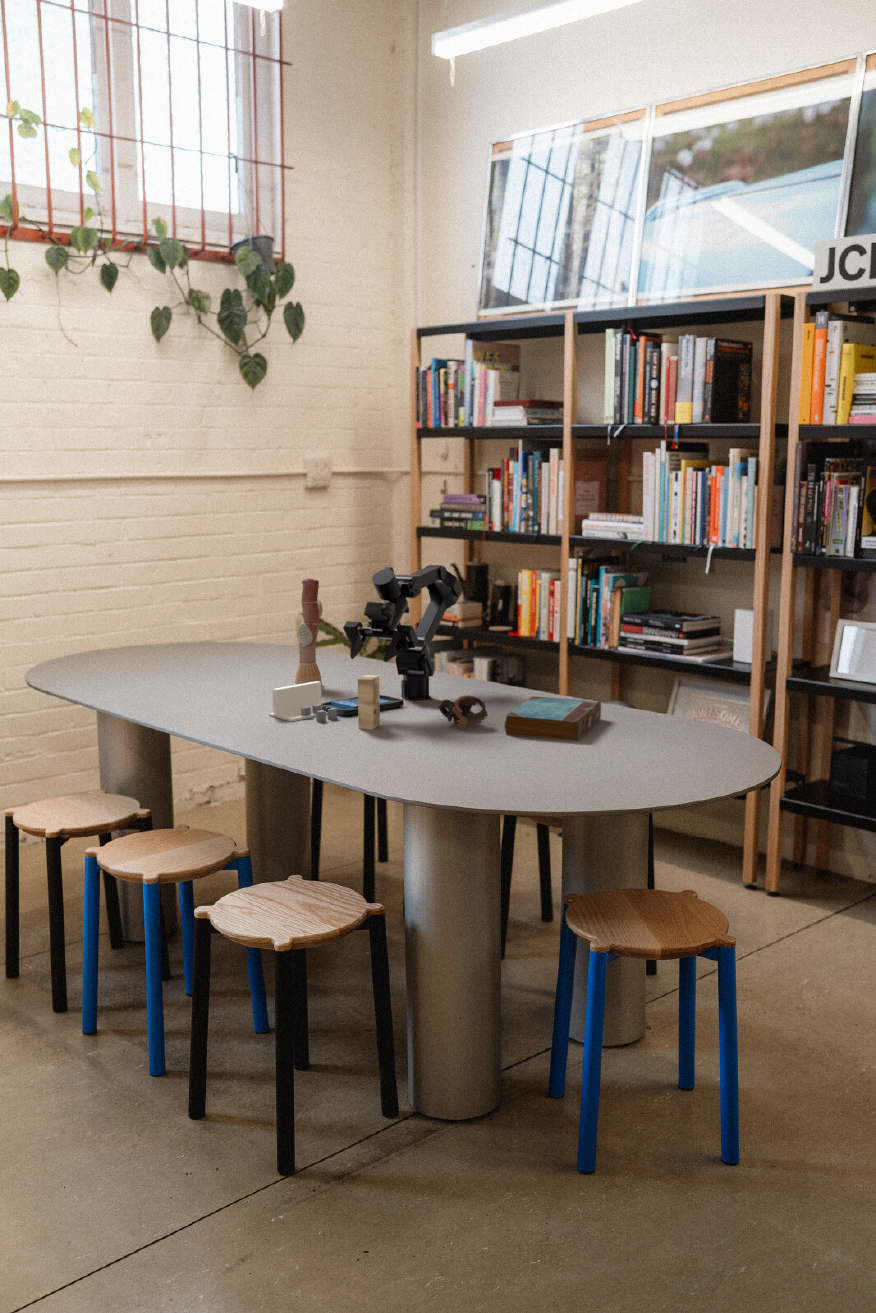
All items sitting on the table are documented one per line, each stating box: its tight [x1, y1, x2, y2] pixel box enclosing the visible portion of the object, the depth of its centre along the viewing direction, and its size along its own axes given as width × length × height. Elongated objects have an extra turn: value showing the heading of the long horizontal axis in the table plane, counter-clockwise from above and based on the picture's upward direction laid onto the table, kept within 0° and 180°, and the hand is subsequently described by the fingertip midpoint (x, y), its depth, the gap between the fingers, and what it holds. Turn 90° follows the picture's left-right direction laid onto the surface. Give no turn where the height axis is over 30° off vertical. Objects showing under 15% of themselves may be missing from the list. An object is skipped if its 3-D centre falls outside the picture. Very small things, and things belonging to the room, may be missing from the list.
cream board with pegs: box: [268, 681, 338, 723], centre depth 292 cm, size 14×14×7 cm
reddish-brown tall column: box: [294, 577, 324, 686], centre depth 328 cm, size 10×7×30 cm
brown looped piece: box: [438, 695, 489, 731], centre depth 281 cm, size 12×10×8 cm
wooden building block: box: [357, 674, 381, 730], centre depth 280 cm, size 5×4×12 cm
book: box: [504, 696, 602, 742], centre depth 280 cm, size 23×18×5 cm
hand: (367, 659), depth 287 cm, fingers open, 9 cm apart
